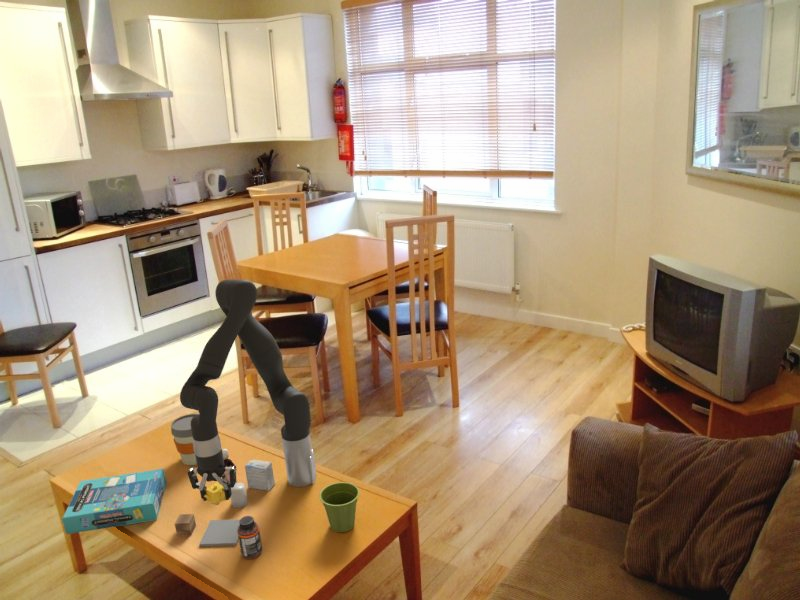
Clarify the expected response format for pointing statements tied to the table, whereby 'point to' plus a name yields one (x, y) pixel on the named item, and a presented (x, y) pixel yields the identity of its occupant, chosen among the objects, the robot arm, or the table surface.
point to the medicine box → (259, 475)
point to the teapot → (215, 493)
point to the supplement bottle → (249, 538)
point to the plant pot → (340, 505)
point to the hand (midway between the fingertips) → (216, 498)
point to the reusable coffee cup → (184, 438)
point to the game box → (115, 501)
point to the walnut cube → (185, 524)
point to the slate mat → (221, 533)
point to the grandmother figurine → (227, 462)
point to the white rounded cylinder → (239, 495)
